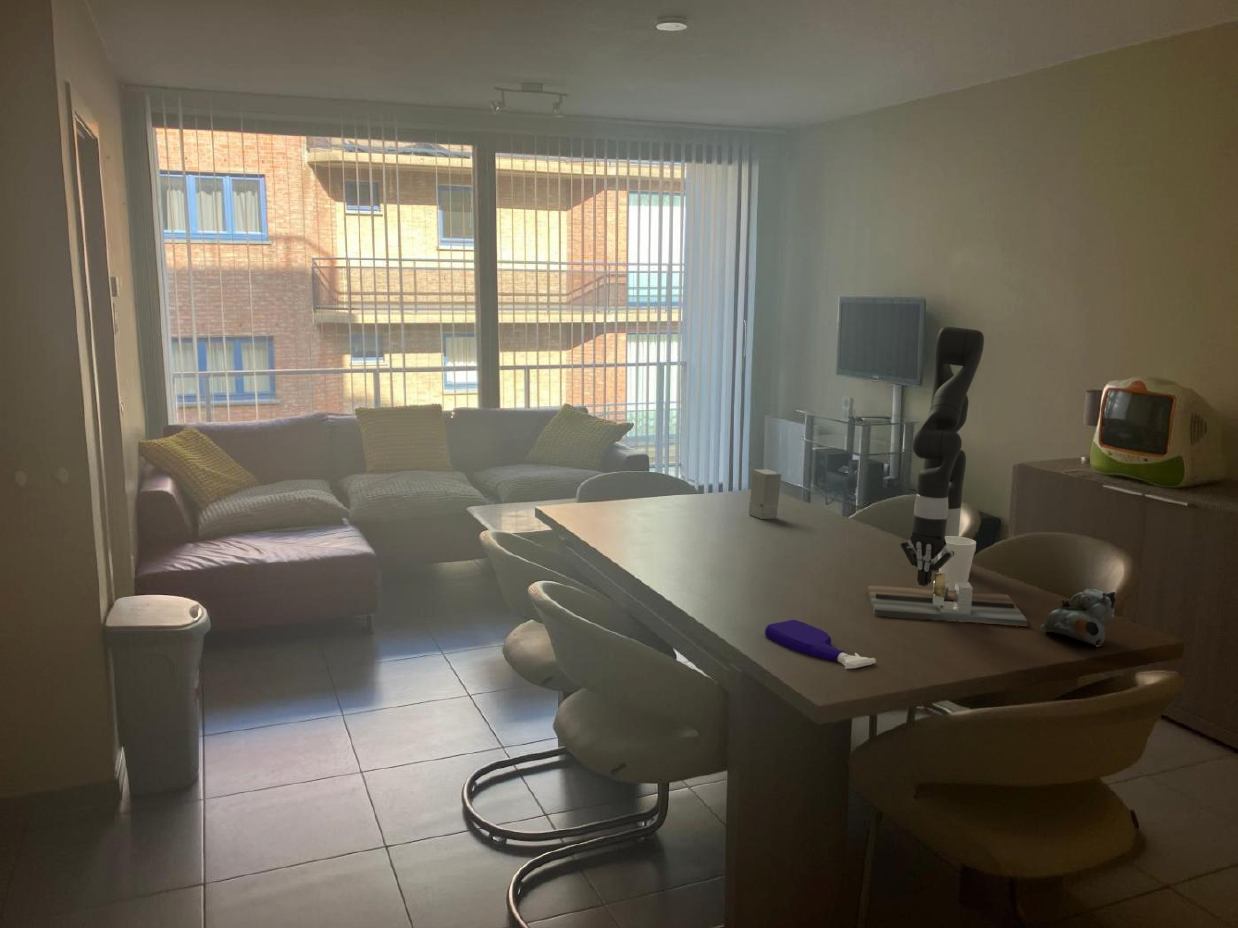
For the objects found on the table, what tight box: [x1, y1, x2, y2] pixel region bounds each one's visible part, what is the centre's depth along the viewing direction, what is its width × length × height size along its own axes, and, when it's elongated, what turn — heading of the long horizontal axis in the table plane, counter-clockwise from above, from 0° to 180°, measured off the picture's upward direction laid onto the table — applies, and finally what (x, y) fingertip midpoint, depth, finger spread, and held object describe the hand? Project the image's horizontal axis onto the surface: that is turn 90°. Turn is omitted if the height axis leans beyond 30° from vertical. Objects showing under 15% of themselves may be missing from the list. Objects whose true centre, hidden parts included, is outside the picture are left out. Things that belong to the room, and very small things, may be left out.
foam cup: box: [938, 536, 977, 591], centre depth 255 cm, size 10×9×13 cm
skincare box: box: [748, 468, 782, 520], centre depth 337 cm, size 8×7×16 cm
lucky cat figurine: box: [1039, 588, 1116, 646], centre depth 219 cm, size 15×12×14 cm
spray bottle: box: [764, 619, 877, 670], centre depth 209 cm, size 3×11×24 cm
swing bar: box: [932, 572, 949, 606], centre depth 239 cm, size 16×4×7 cm, turn 160°
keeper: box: [937, 581, 974, 615], centre depth 233 cm, size 6×7×6 cm
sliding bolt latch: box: [867, 584, 1028, 626], centre depth 240 cm, size 21×34×3 cm, turn 81°
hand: (923, 584), depth 236 cm, fingers closed
